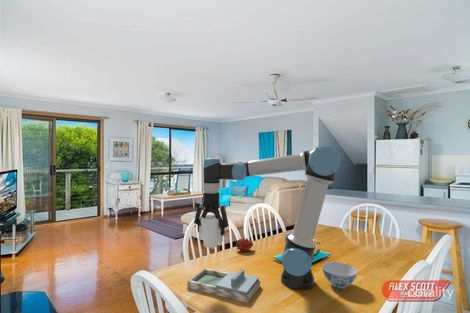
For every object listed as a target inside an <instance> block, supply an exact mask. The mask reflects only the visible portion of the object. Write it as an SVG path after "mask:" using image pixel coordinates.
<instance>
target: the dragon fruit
mask: <svg viewBox="0 0 470 313" xmlns="http://www.w3.org/2000/svg"><path fill="white" fill-rule="evenodd" d="M253 246H254V243H253V241H251V240H249V239H248V238H247V237H246V238H244V237H243V238H239V239H237V241H235V247H236V250H237V251H238V250H239V251H240V252H244V253H245V252H246V251H247V252H249V251H251V249H252V247H253Z"/></svg>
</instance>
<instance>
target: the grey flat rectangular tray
mask: <svg viewBox="0 0 470 313" xmlns="http://www.w3.org/2000/svg"><path fill="white" fill-rule="evenodd" d="M228 273H229V272H224V271H221V270H217V269H216V270H215V269H211V268H203V269H202V270H200V271H198V273H196V274H194V275H193V276H192V277H191V278H189V279H188V280H187V284H186V285H187V289H192V290H194V291H195V290H196V291H199V292H204V293H208V294H210V295H211V294H212V295H216V296H220V297H224V298H228V299H231V300H236V301H239V302H243V303H247V304H249V303H250V301H251V300H252V299H253V297H254V296H255V294H256V293H257V291H259V289H260V288H261V279H258V280H257V281H256V283H255V284H254V285H253V287H252V288H251V289H250V290H249V292H248V293H247V294H244V293H240V292H236V291H232V290H227V289H223V288H219V287H216V284H217V283H219V282H220V281H221V280H222V279H223V278H224V277H225V276H226V275H227V274H228Z"/></svg>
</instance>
